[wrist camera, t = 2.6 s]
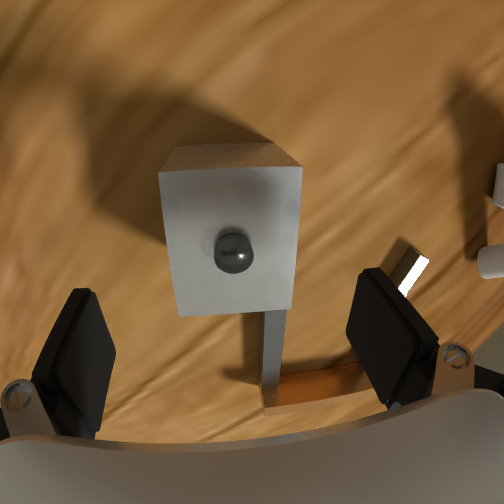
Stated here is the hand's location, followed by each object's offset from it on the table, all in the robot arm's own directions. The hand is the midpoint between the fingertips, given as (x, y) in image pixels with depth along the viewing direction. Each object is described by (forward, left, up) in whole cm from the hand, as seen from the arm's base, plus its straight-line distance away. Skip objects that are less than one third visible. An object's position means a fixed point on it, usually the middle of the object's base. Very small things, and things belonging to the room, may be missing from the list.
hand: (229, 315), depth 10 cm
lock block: (-1, 0, -9) cm, 9 cm away
